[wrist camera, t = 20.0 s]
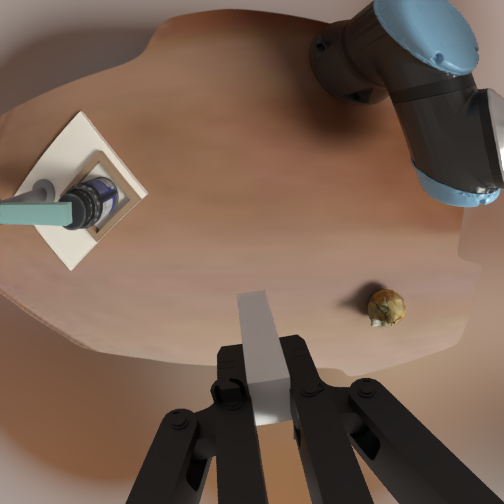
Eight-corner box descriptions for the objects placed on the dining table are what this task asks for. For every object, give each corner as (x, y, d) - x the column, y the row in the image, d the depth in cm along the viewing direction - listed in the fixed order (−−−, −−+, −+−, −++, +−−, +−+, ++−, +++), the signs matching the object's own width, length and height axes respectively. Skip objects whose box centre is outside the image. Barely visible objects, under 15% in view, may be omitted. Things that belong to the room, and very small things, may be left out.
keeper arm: (-9, 224, 27) (-16, 228, 25) (-11, 198, 25) (-19, 201, 24) (72, 227, 29) (65, 231, 27) (71, 196, 27) (63, 199, 26)
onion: (376, 323, 55) (393, 345, 48) (354, 305, 53) (372, 328, 46) (400, 296, 54) (421, 316, 46) (380, 276, 51) (401, 296, 44)
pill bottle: (80, 185, 39) (44, 197, 28) (112, 170, 39) (80, 178, 28) (93, 220, 41) (61, 242, 31) (125, 207, 41) (98, 226, 31)
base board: (83, 111, 36) (36, 103, 23) (148, 193, 42) (119, 213, 29) (17, 195, 38) (-31, 214, 26) (73, 268, 44) (36, 306, 32)
